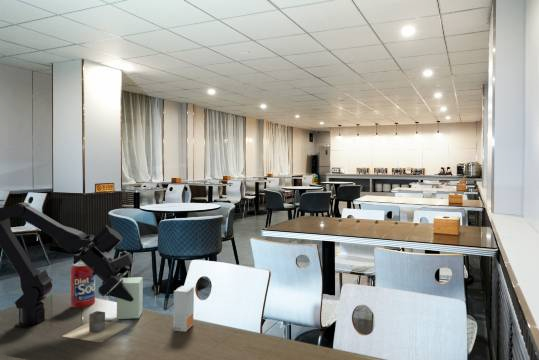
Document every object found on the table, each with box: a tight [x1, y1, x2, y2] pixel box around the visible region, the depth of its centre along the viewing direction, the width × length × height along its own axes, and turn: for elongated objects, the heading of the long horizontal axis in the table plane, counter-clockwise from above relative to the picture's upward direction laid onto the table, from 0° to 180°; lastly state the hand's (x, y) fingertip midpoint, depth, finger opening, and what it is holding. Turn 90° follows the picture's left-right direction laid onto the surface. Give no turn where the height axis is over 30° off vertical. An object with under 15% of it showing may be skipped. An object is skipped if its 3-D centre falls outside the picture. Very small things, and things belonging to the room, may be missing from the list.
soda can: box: [69, 261, 96, 309], centre depth 141 cm, size 8×8×15 cm
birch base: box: [61, 310, 130, 343], centre depth 118 cm, size 13×13×6 cm
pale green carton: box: [116, 276, 144, 320], centre depth 129 cm, size 7×7×11 cm
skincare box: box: [172, 285, 195, 332], centre depth 123 cm, size 6×4×12 cm
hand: (134, 297), depth 129 cm, fingers closed on pale green carton, 7 cm apart
